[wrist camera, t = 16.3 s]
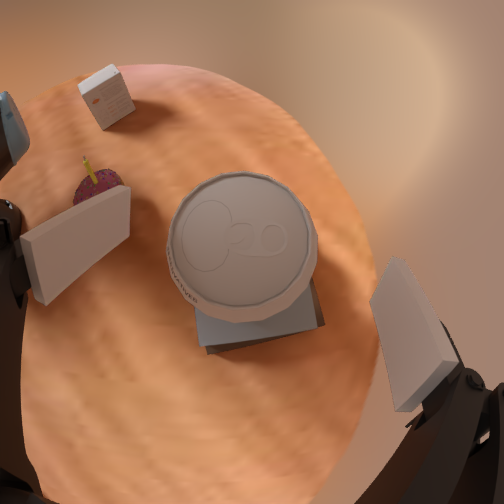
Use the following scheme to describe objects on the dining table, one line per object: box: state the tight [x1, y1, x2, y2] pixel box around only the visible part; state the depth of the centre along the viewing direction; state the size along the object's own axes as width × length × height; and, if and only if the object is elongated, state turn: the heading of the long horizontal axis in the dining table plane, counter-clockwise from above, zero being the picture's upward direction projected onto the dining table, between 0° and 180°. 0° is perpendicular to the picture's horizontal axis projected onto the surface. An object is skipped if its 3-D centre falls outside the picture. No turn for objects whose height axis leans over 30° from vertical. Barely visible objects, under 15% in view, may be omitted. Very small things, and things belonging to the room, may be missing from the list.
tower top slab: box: [194, 283, 318, 346], centre depth 30 cm, size 12×12×4 cm
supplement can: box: [166, 171, 318, 323], centre depth 20 cm, size 8×8×15 cm
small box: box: [78, 64, 136, 130], centre depth 40 cm, size 8×6×10 cm
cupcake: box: [73, 156, 124, 206], centre depth 32 cm, size 9×8×12 cm
